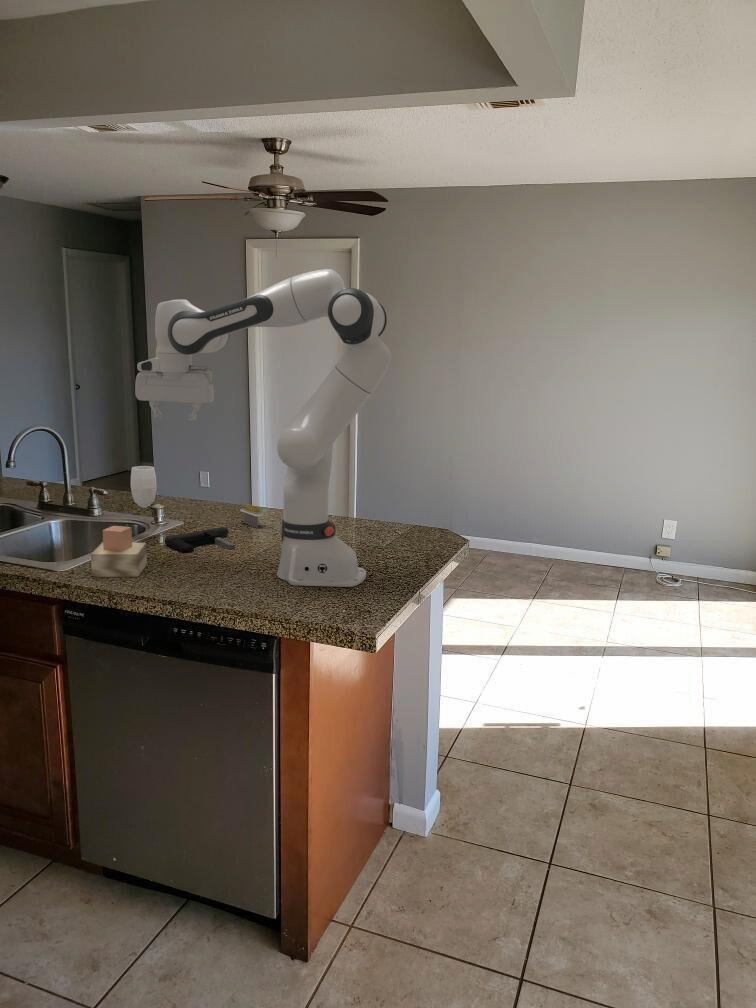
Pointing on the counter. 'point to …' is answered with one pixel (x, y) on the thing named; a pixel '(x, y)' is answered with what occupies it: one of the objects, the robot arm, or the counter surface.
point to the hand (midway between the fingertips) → (175, 419)
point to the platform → (251, 515)
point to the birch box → (119, 561)
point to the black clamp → (199, 539)
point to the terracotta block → (117, 538)
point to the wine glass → (143, 485)
